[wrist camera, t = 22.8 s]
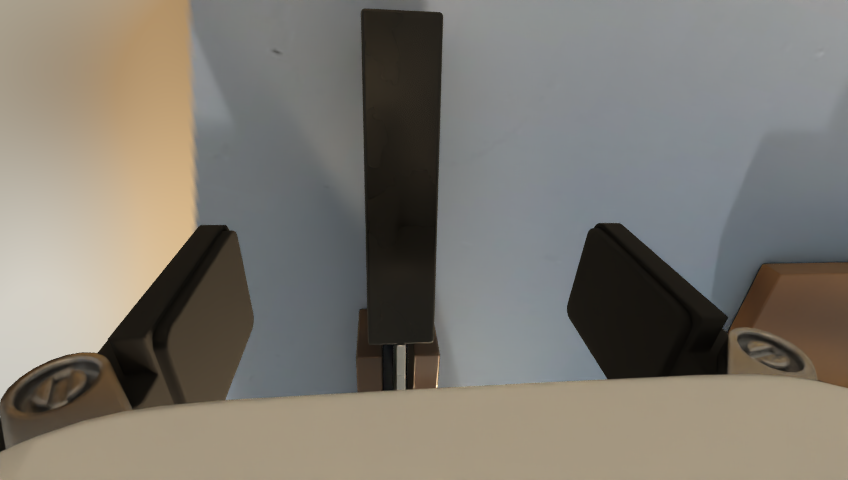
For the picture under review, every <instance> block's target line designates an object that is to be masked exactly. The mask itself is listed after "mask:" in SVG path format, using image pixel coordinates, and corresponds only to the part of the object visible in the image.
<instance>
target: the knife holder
mask: <svg viewBox="0 0 848 480" xmlns="http://www.w3.org/2000/svg"><path fill="white" fill-rule="evenodd" d="M439 361H440V352H439V347H438V341H437V336H436V330H435V325H434V341H433V342H432V343H415V344H408V368H407V390H411V389H429V388H437V386H438V374H439ZM356 369H357V389H358V392H375V391H383V346H382V345H369V343H368V317H367V309H360V311H359V321H358V336H357V350H356Z"/></svg>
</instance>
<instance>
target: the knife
mask: <svg viewBox="0 0 848 480" xmlns="http://www.w3.org/2000/svg"><path fill="white" fill-rule="evenodd" d="M361 37H362V84H363V130H364V177H365V224H366V270H367V317H368V343H369V345H388V344H393V390H405V379H406V344H415V343H432V342H433V341H434V315H435V281H436V246H437V211H438V177H439V142H440V108H441V73H442V38H443V15H442V13H440V12H424V11H404V10H384V9H362V11H361Z"/></svg>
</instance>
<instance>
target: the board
mask: <svg viewBox="0 0 848 480" xmlns="http://www.w3.org/2000/svg"><path fill="white" fill-rule="evenodd" d="M741 327H748V328H756V329H760V330H763V331H767V332H770V333H772V334H774V335H777V336H779V337H781V338H783V339H785V340H787V341H789V342H790V343H792V344H794V345H795V346H796V347H798V348H799V349H800V350H802V351H803V352H804V353H805V354H806V355H807V356H808V357H809V358H810V359H811V361H812V363H813V365H814V367H815V370H816V375H817V379H818V380H820V381H822V382H825V383H828V384H832V385H836V386H841V387H845V388H848V262H837V263H779V264H762V266H761V268H760V270H759V272H758V274H757V276H756V278H755V280H754V282H753V284H752V286H751V288H750V290H749V292H748V294H747V296H746V298H745V300H744V302H743V304H742V306H741V308H740V310H739V312H738V314H737V316H736V317H735V319H734V321H733V323H732V325H731V327H730V329H729V331H728V334H729V333H730V331H731V330H733V329H735V328H741Z"/></svg>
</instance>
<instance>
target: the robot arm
mask: <svg viewBox="0 0 848 480" xmlns="http://www.w3.org/2000/svg"><path fill="white" fill-rule="evenodd" d="M567 313H568V317H569V319H570V320H571V322H572V323H573V325H574V327H575V328H576V330H577V331H578V333H579V335H580V336H581V338H582V339H583V341H584V342H585V344H586V346H587V347H588V349H589V350H590V352H591V354H592V355H593V357H594V358H595V360H596V362H597V363H598V365H599V366H600V368H601V370H602V371H603V373H604V374H605V376H606V378H607V379H605V380H584V381H564V382H544V383H525V384H505V385H486V386H467V387H448V388H429V389H411V390H393V391H375V392H357V393H340V394H323V395H305V396H288V397H271V398H253V399H236V400H225V399H226V396H227V393H228V391H229V388H230V386H231V383H232V380H233V378H234V375H235V373H236V370H237V367H238V365H239V362H240V360H241V357H242V354H243V352H244V349H245V347H246V344H247V341H248V339H249V336H250V333H251V331H252V328H253V322H254V316H253V310H252V305H251V300H250V295H249V290H248V286H247V281H246V276H245V271H244V266H243V261H242V256H241V252H240V247H239V242H238V237H237V234H236V232H235V231H229V229H228V227H227V226H226V225H200V226H199V227H198V228H197V229H196V231H195V232H194V233H193V234H192V236H191V237H190V238H189V239H188V241H187V242H186V243H185V244H184V245H183V247H182V248H181V249H180V250H179V252H178V253H177V254H176V255H175V257H174V258H173V259H172V260H171V262H170V263H169V264H168V265H167V267H166V268H165V269H164V270H163V272H162V273H161V274H160V275H159V277H158V278H157V279H156V280H155V281H154V283H153V284H152V285H151V287H150V288H149V289H148V290H147V291H146V293H145V294H144V295H143V296H142V297H141V299H140V300H139V301H138V303H137V304H136V305H135V306H134V307H133V309H132V310H131V311H130V312H129V314H128V315H127V316H126V317H125V318H124V320H123V321H122V322H121V323H120V325H119V326H118V327H117V328H116V330H115V331H114V332H113V333H112V335H111V336H110V337H109V338H108V341H107V342H106V343H105V344H104V346H103V347H102V348H101V350H100V351H99V352H98V353H76V354H71V355H65V356H62V357H59V358H56V359H53V360H51V361H48V362H46V363H44V364H42V365H40V366H38V367H36V368H34V369H32V370H31V371H29V372H28V373H26V374H25V375H23V376H22V377H20V378H19V379H18V380H17V381H16V382H15V383H14V384H13V385H11V386H10V387H9V388H8V390H7V391H6V393H5V394H4V396H3V397H2V399H1V402H0V480H848V388H845V387H841V386H836V385H832V384H828V383H825V382H822V381H820V380H818V379H817V375H816V370H815V367H814V365H813V363H812V361H811V359H810V358H809V357H808V356H807V355H806V354H805V353H804V352H803V351H802V350H800V349H799V348H798V347H796V346H795V345H794V344H792V343H790V342H789V341H787V340H785V339H783V338H781V337H779V336H777V335H774V334H772V333H770V332H767V331H763V330H760V329H756V328H748V327H741V328H735V329H733V330H731V331H730V333H729V334H728V333H726V332H725V331H724V330H723V329H722V328H723V326H724V324H725V322H726V320H727V319H728V317H727V316H726V315H725V314H724V313H723V312H722V311H720V310H719V309H718V308H717V307H716V306H715V305H714V304H712V303H711V302H710V301H709V300H708V299H707V298H706V297H704V296H703V295H702V294H701V293H700V292H699V291H698V290H696V289H695V288H694V287H693V286H692V285H691V284H690V283H688V282H687V281H686V280H685V279H684V278H683V277H682V276H680V275H679V274H678V273H677V272H676V271H675V270H674V269H672V268H671V267H670V266H669V265H668V264H667V263H666V262H664V261H663V260H662V259H661V258H660V257H659V256H658V255H656V254H655V253H654V252H653V251H652V250H651V249H649V248H648V247H647V246H646V245H645V244H644V243H643V242H641V241H640V240H639V239H638V238H637V237H636V236H635V235H633V234H632V233H631V232H630V231H629V230H628V229H627V228H625V227H624V226H623V225H622V224H620V223H598V224H597V225H596V226H595V227H594V228H592V229H590V230H589V232H588V234H587V238H586V241H585V245H584V248H583V252H582V255H581V259H580V262H579V266H578V269H577V273H576V276H575V280H574V283H573V287H572V290H571V294H570V297H569V301H568V305H567Z"/></svg>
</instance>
